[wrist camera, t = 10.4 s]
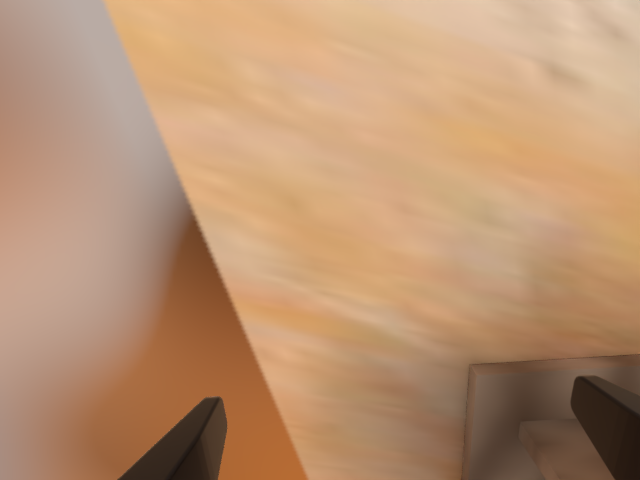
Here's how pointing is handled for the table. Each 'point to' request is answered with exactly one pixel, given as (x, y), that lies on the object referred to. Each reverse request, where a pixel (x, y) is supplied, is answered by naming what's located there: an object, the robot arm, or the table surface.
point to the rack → (535, 419)
